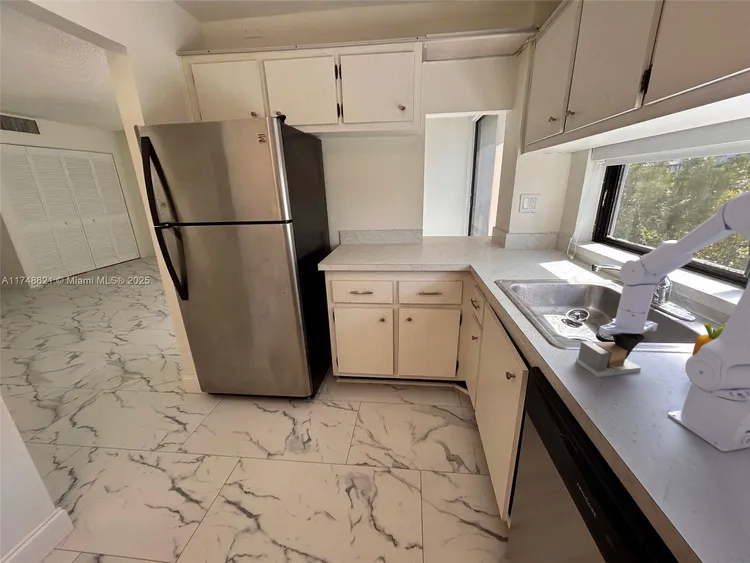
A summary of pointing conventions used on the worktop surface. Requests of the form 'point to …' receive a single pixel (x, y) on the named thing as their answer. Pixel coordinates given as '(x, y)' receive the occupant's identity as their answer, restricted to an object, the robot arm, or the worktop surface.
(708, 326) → the carrot
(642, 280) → the robot arm
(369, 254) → the worktop surface
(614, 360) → the block
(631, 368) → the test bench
